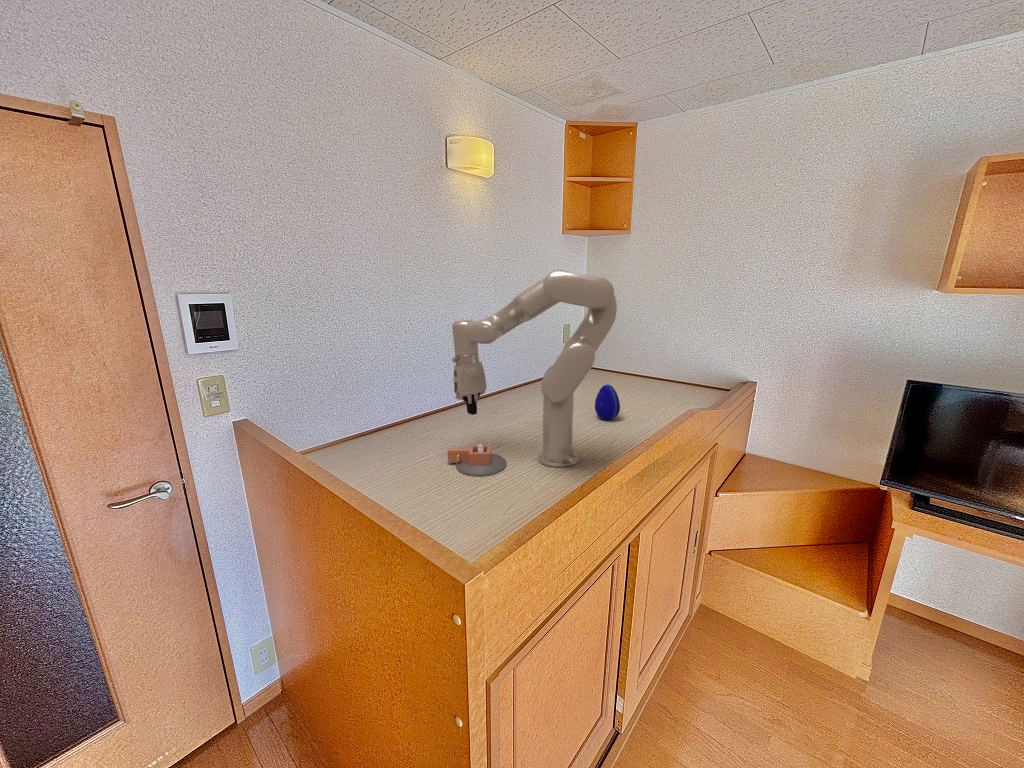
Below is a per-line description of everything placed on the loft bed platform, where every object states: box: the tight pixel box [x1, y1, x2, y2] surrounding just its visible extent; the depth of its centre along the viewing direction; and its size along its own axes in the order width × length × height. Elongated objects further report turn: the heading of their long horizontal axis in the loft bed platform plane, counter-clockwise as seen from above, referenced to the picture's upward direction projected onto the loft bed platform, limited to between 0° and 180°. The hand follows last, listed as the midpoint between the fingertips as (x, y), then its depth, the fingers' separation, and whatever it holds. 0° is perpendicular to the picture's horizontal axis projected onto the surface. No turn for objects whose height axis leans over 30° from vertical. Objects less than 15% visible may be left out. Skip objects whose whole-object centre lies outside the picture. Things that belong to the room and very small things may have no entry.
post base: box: [455, 443, 507, 478], centre depth 131 cm, size 16×16×7 cm
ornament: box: [594, 384, 621, 420], centre depth 173 cm, size 11×9×15 cm
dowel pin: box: [456, 454, 460, 464], centre depth 131 cm, size 1×1×3 cm
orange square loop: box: [446, 445, 492, 466], centre depth 133 cm, size 14×7×4 cm, turn 90°
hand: (472, 413), depth 136 cm, fingers closed
